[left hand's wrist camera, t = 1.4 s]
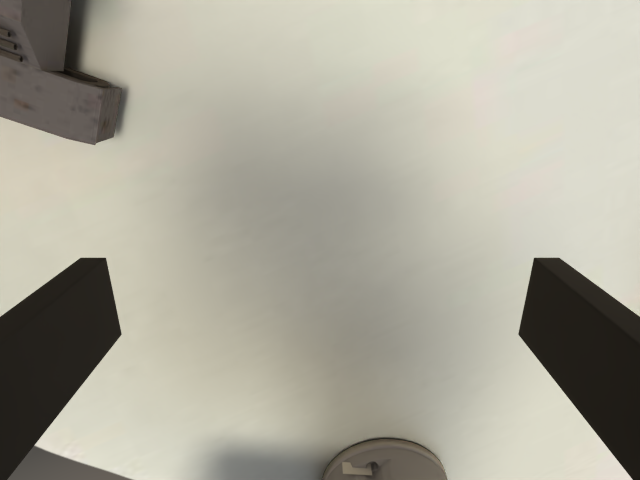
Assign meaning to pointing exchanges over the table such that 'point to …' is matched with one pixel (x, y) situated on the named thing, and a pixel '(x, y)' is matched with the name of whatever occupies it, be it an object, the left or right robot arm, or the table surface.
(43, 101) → the toy
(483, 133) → the table surface
